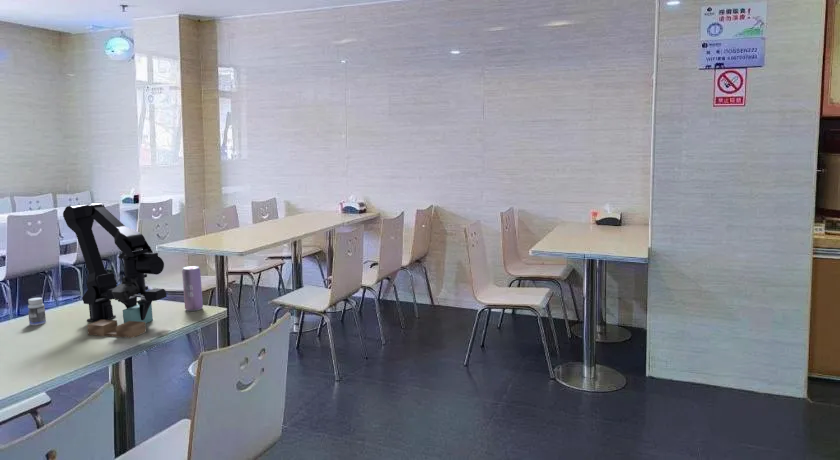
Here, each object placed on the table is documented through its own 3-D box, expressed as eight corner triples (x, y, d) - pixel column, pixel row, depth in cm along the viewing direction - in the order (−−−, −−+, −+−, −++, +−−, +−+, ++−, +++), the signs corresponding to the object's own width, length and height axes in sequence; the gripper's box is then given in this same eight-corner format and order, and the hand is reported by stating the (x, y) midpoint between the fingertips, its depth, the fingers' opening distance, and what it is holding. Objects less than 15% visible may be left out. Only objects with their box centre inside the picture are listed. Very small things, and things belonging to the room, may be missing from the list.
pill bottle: (26, 324, 208) (23, 300, 207) (39, 321, 213) (36, 296, 212) (36, 326, 207) (33, 301, 206) (49, 322, 211) (46, 297, 210)
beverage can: (205, 307, 226) (202, 265, 224) (198, 311, 220) (195, 269, 218) (189, 307, 226) (186, 265, 224) (182, 311, 221) (178, 269, 219)
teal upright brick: (124, 328, 201) (122, 310, 201) (145, 319, 211) (143, 302, 210) (132, 328, 201) (130, 310, 200) (152, 320, 210) (151, 302, 209)
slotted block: (88, 334, 195) (87, 324, 195) (102, 329, 201) (101, 319, 201) (132, 337, 191) (131, 327, 191) (145, 331, 197) (145, 321, 197)
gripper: (91, 276, 198) (95, 325, 200) (142, 278, 193) (146, 328, 196) (116, 269, 209) (120, 315, 211) (165, 271, 204) (169, 318, 206)
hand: (138, 319), depth 206 cm, fingers closed on teal upright brick, 3 cm apart
